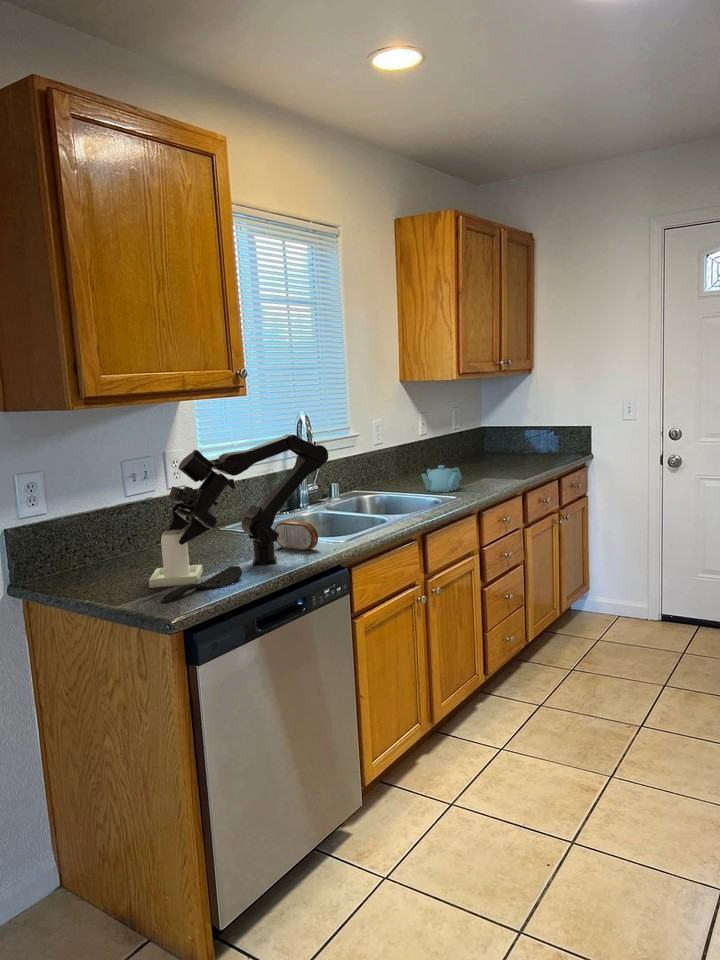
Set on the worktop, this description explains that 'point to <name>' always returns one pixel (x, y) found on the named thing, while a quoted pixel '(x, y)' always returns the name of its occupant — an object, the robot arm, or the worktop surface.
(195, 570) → the tray
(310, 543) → the tin
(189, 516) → the robot arm
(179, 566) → the can
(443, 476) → the teapot
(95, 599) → the worktop surface
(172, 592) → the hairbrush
